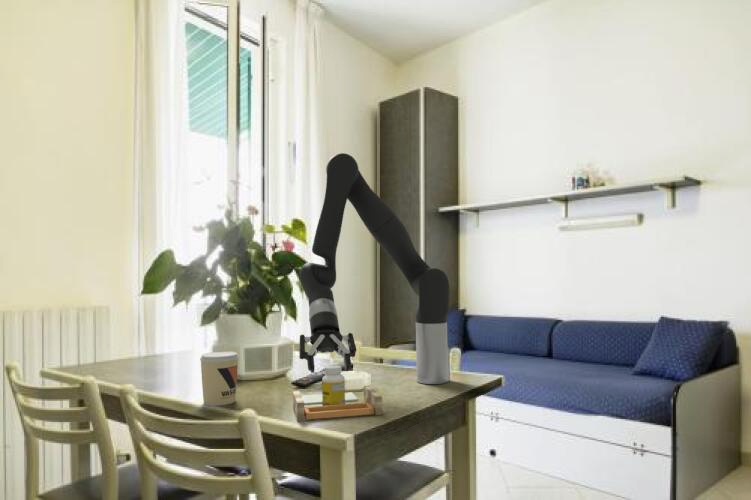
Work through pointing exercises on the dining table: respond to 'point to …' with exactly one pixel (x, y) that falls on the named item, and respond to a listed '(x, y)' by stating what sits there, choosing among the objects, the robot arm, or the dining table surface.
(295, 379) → the dining table surface
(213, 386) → the coffee cup
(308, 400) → the mat
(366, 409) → the orange rectangular tray
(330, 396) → the supplement bottle
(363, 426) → the dining table surface
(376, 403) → the tunnel walls
